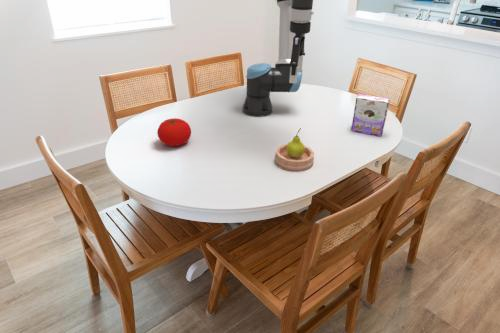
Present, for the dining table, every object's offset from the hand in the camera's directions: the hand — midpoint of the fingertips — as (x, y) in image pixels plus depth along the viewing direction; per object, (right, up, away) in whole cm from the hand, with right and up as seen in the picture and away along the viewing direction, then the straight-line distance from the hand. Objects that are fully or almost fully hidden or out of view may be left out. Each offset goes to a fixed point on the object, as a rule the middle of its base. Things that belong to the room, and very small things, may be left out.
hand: (295, 77), depth 148 cm
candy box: (+36, -19, +24) cm, 47 cm away
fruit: (-1, -32, -2) cm, 32 cm away
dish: (-1, -33, -1) cm, 33 cm away
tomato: (-50, -26, +11) cm, 57 cm away
